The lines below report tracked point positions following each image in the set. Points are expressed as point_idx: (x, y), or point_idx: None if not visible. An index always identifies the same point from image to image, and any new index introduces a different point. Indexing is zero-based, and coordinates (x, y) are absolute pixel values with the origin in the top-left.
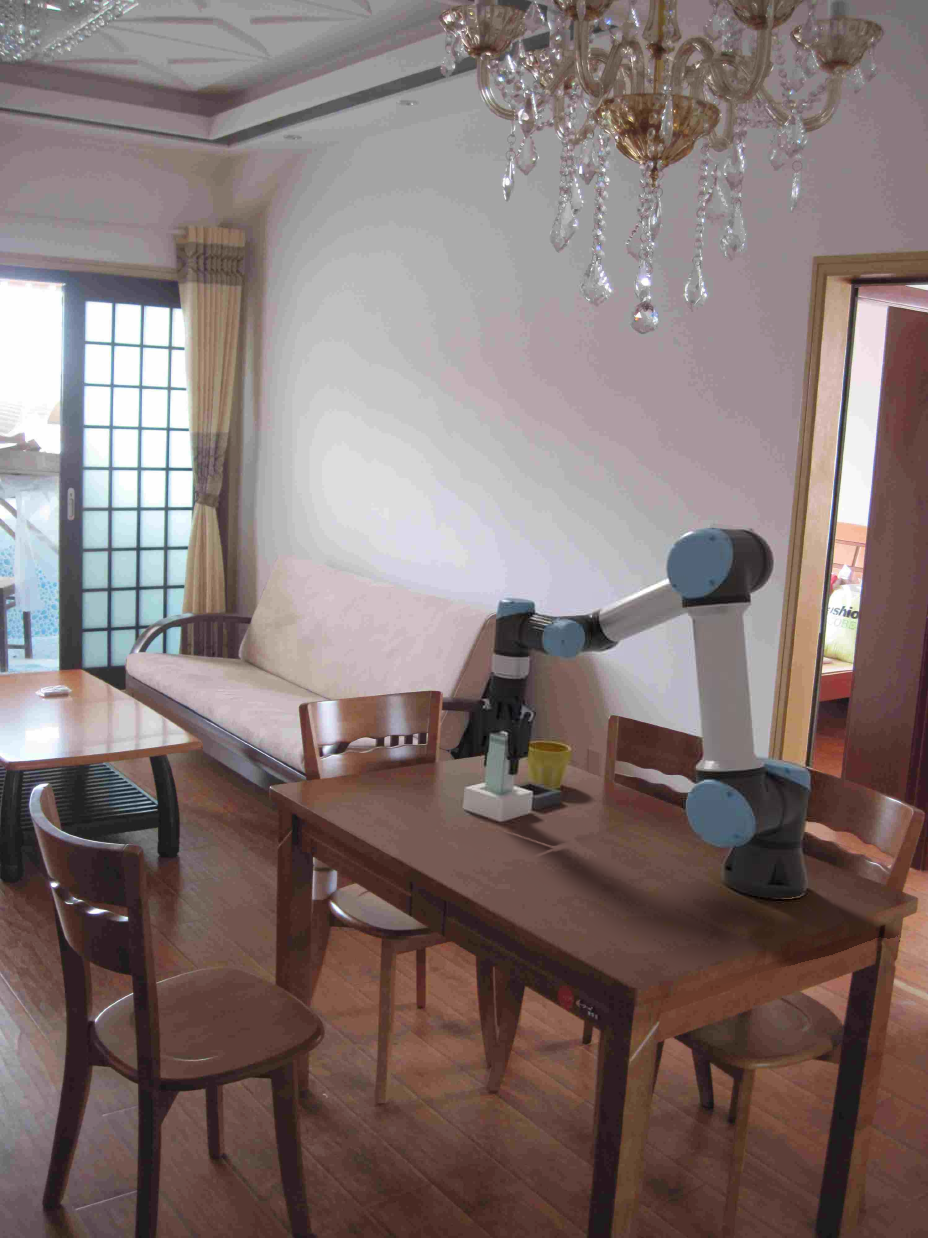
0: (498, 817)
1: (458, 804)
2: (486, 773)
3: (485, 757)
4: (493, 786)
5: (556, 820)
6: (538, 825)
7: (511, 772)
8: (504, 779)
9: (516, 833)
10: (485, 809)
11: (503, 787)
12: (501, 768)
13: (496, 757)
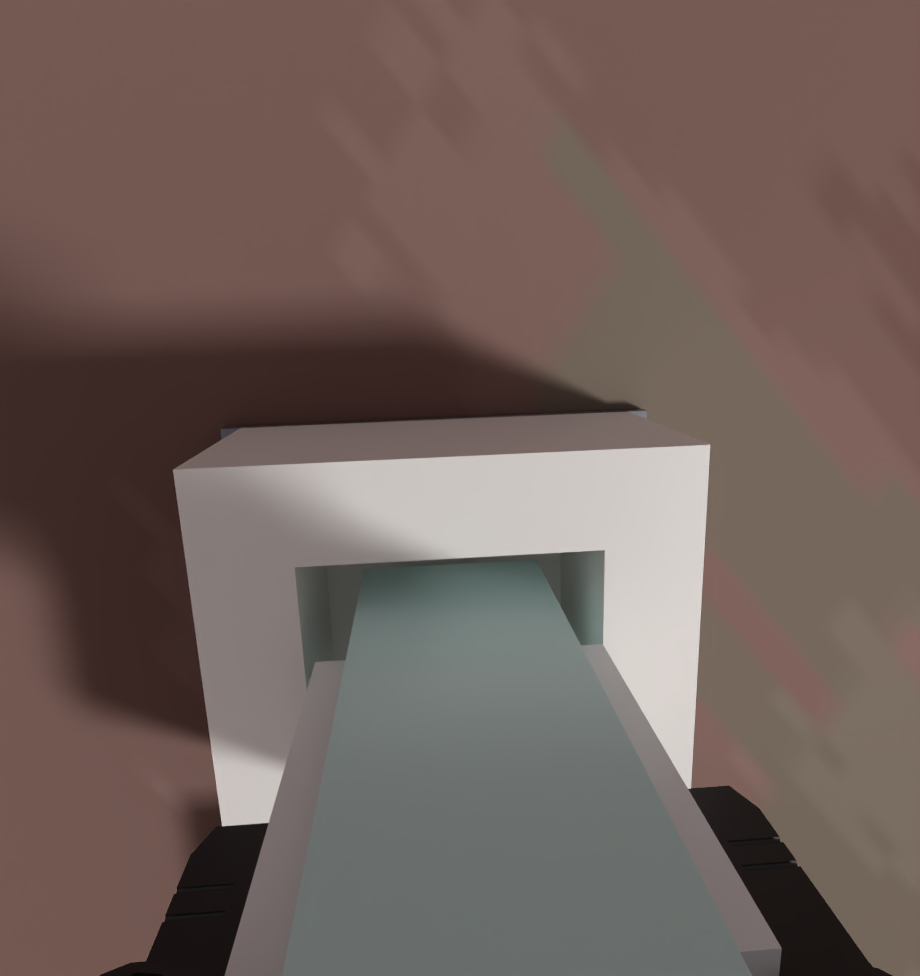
0: (258, 434)
1: (772, 540)
2: (629, 713)
3: (802, 899)
4: (454, 629)
5: (138, 857)
6: (117, 680)
7: (232, 852)
8: (326, 730)
9: (52, 400)
10: (404, 433)
11: (342, 675)
12: (347, 792)
13: (491, 918)
